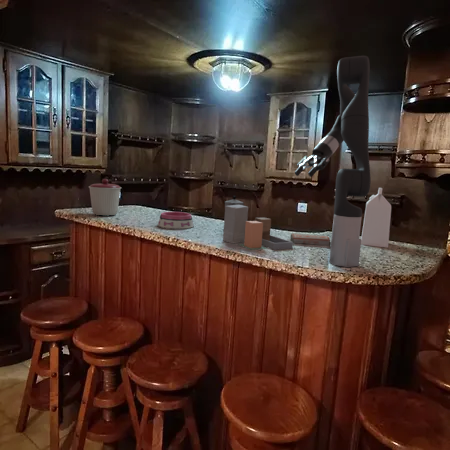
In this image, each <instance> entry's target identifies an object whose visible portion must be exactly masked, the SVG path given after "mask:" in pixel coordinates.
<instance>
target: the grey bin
mask: <svg viewBox="0 0 450 450" xmlns="http://www.w3.org/2000/svg"><path fill="white" fill-rule="evenodd" d="M261 246H262V247H265V248H267V249H271V250H274V251H277V250H287V249H290V250H291V249H293V246H294V245H293V242H290V241H287V239H284V238H281V237H277V236H275V235H272V234H270V241H267V240H264V239H262V245H261Z"/></svg>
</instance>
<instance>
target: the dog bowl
mask: <svg viewBox="0 0 450 450" xmlns="http://www.w3.org/2000/svg"><path fill="white" fill-rule="evenodd" d="M158 226H160V227H159V228H161V227H164V228H163V229H166V228H170V229H169V230H190V229H193V228H195V226H194V222H193V216H192V214H191V213H190V212H189V213H188V212H182V211H164V212H161V213H160V215H159V220H158V223H157V227H158Z"/></svg>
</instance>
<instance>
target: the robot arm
mask: <svg viewBox="0 0 450 450" xmlns="http://www.w3.org/2000/svg"><path fill="white" fill-rule="evenodd" d="M337 62H338V63H337V69H336V76H337V77H336V79H337V89H338V96H339V100H340V101H339V103H340V104H339V115H338V116H337V118H336V120H335V122H334V124H333V126H332V128H331V129H330V131H329V132H328V133H327V134H326V135H325V136H324V137H323V138H322V139H321V140H320V141H319V142H318V143H317V145H315V147H314V148H313V149H312V150H311V152H312V153H311V155H310V156H307V155H305V156H304V157H303V158H301V160H300V161H299V162H298V163H297V164H296V165H297V167H298V168H296V169H295V171H294V175H295V176H297V177H298V176H300V175H301V173H302V172H303V171H304V170H306V169H309V168H311V169H310V170H309V171H308V172H307V173H308V174H307V175H308V177H310V178H312V177H314V175H315V174H317V172H319V171H323V170H324V169H325V168H326V167H327V166H328V164H329V162H330V161H331V160H330V158H331V157H332V156H333V154H334V153H335V152H336V151H337V150H338V148H339V146H341V144H343V142H344V144H345V145H346V146H347V147H348V149H349V150H350V152H351V154H352V155H353V157H354V160H355V165H356V168H340V169H339V170H338V172H337V173H336V177H335V178H336V179H335V190H334V191H335V192H334V209H333V211H334V212H333V218H332V220H333V221H332V222H333V223H332V227H331V228H332V231H331V237H330V238H331V239H330V242H331V245H330V246H331V248H330V249H329V260H328V262H329V264H331V265H335V266H338V267H339V266H340V267H344V268H352V267H358V266H360V265H359V264H360V256H361V255H360V254H361V249H362V248H361V247H362V244H361V238H360V234H361V225H362V216H363V209H362V208H361V207H359V206H356V205H354V204H353V203H351V202H349V201H348V197H366V196H368V194H369V193H370V190H371V185H372V184H371V182H372V181H371V179H372V178H371V177H372V176H371V167H370V166H371V165H370V155H369V140H370V139H369V134H370V133H369V132H370V130H369V129H370V118H369V117H370V116H369V115H370V114H369V86H370V70H371V69H370V66H371V65H370V58H369V56H367V55H356V56H347V57H342V58H340V59H339V60H338V61H337ZM356 84H359V85H358V87H357V90H356V93H354V92H353V90H352V89H351V88H350V87H349V85H356Z"/></svg>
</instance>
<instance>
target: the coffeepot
mask: <svg viewBox="0 0 450 450" xmlns="http://www.w3.org/2000/svg"><path fill="white" fill-rule="evenodd" d="M236 198H237V196H236V195H233V196H232V199H229V200H226V201H224V207H225V206H230V205H243V206H245V205H244V203H245V202H243V201H242V200H241V201H240V200H238V199H236ZM222 232H223V233H224V228H223V230H222Z"/></svg>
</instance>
